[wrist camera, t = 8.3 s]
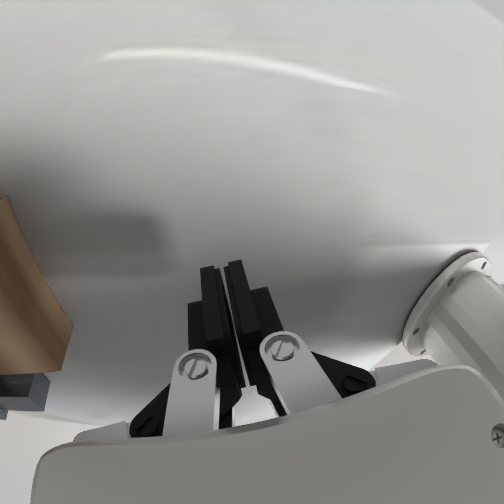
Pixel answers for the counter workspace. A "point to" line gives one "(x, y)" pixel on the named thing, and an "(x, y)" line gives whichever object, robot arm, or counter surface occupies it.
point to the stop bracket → (23, 392)
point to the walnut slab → (27, 307)
